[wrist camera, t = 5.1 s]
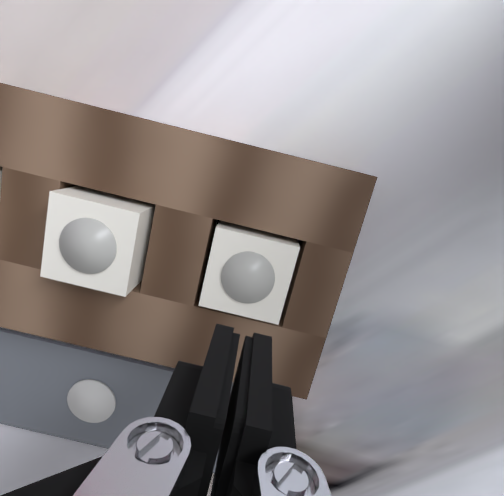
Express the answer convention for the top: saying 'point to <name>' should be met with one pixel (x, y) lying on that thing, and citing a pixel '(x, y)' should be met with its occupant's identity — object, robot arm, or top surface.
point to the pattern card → (75, 389)
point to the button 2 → (249, 272)
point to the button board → (169, 232)
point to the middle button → (96, 239)
